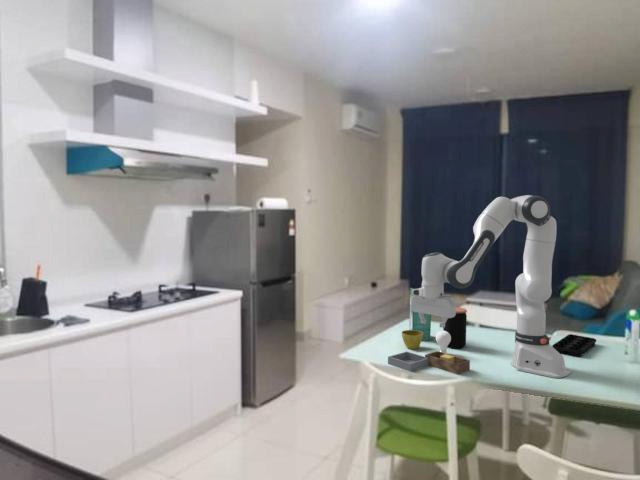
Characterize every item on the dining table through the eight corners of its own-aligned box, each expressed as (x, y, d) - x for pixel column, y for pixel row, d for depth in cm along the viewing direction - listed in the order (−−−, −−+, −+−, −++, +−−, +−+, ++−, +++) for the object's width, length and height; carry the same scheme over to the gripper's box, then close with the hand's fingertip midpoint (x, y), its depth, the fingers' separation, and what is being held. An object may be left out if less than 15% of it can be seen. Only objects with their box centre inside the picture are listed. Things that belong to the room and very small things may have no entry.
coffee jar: (463, 343, 233) (464, 307, 232) (467, 349, 222) (469, 311, 221) (441, 342, 234) (442, 306, 233) (444, 348, 223) (445, 311, 222)
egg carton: (596, 344, 234) (596, 337, 234) (595, 361, 209) (596, 352, 208) (556, 339, 243) (556, 332, 243) (551, 354, 217) (551, 346, 217)
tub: (428, 366, 198) (429, 358, 198) (410, 372, 190) (410, 363, 190) (406, 359, 207) (406, 351, 207) (387, 364, 200) (388, 356, 199)
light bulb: (440, 351, 219) (440, 328, 218) (453, 354, 214) (453, 330, 213) (432, 354, 214) (433, 330, 214) (445, 358, 210) (446, 333, 209)
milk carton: (430, 340, 238) (431, 290, 237) (412, 339, 238) (413, 290, 237) (426, 335, 247) (427, 287, 246) (409, 335, 248) (410, 287, 246)
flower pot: (417, 352, 218) (417, 336, 218) (397, 348, 224) (397, 333, 224) (426, 347, 226) (426, 332, 226) (407, 343, 232) (407, 328, 232)
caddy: (469, 371, 193) (469, 360, 192) (457, 375, 187) (457, 364, 187) (436, 361, 205) (437, 351, 205) (424, 365, 200) (425, 354, 199)
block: (453, 367, 196) (454, 356, 195) (448, 369, 193) (448, 358, 193) (445, 364, 199) (445, 354, 199) (439, 366, 196) (440, 356, 196)
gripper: (458, 294, 189) (458, 328, 190) (418, 288, 205) (418, 320, 206) (449, 296, 185) (449, 331, 186) (408, 290, 201) (408, 322, 202)
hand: (432, 325), depth 196 cm, fingers open, 8 cm apart
